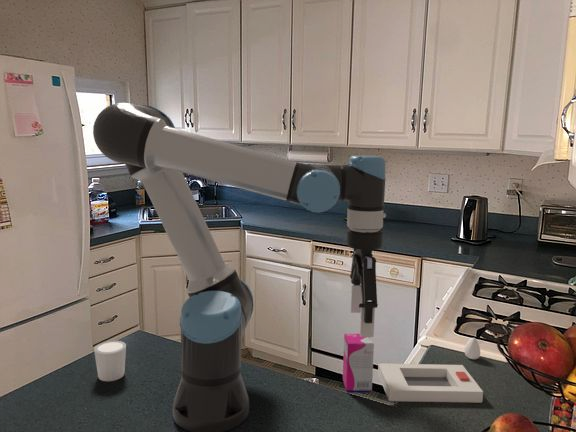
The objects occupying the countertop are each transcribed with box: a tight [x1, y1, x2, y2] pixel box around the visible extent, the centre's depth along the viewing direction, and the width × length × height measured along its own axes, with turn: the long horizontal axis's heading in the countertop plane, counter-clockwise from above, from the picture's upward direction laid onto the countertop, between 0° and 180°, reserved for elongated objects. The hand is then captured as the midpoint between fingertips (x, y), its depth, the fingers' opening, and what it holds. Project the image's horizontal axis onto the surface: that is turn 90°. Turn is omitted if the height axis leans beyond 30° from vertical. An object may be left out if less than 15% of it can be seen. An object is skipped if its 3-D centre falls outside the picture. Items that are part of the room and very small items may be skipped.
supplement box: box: [342, 333, 375, 394], centre depth 107 cm, size 6×6×12 cm
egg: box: [463, 337, 481, 360], centre depth 122 cm, size 4×4×6 cm
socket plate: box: [377, 363, 484, 404], centre depth 107 cm, size 20×12×3 cm, turn 91°
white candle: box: [93, 340, 127, 382], centre depth 109 cm, size 7×7×7 cm
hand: (361, 323), depth 105 cm, fingers open, 13 cm apart
